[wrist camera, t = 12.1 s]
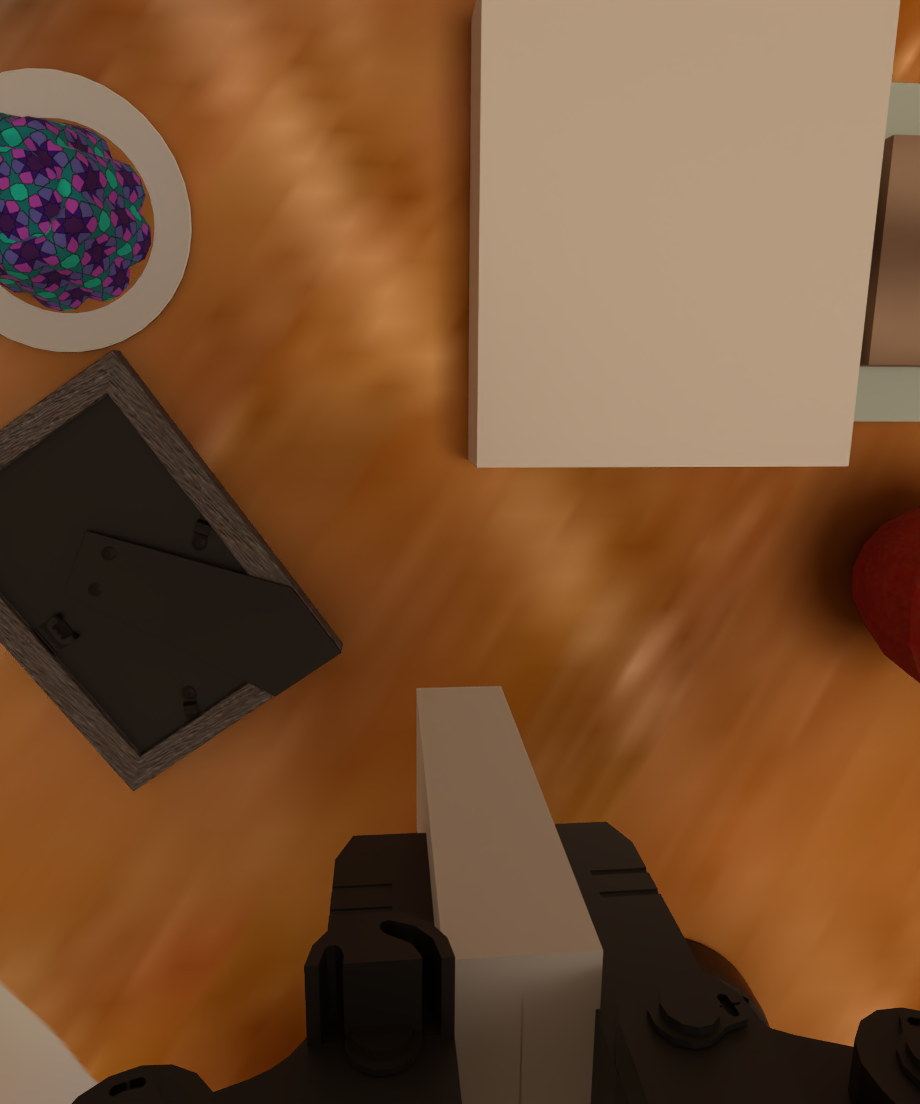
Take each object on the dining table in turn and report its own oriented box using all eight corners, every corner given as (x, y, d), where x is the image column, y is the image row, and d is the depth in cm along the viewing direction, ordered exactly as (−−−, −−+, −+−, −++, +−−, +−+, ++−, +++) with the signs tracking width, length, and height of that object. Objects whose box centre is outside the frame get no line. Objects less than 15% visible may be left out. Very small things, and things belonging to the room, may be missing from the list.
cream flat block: (804, 459, 41) (848, 466, 37) (468, 459, 39) (476, 467, 35) (845, 39, 36) (900, -3, 33) (471, 19, 35) (481, -27, 31)
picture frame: (343, 640, 41) (123, 351, 37) (341, 652, 39) (109, 349, 35) (142, 776, 41) (-95, 506, 37) (130, 795, 40) (-122, 513, 36)
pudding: (144, 45, 34) (101, -15, 29) (230, 317, 37) (204, 305, 32) (-122, 111, 34) (-213, 61, 29) (-16, 381, 36) (-82, 379, 31)
